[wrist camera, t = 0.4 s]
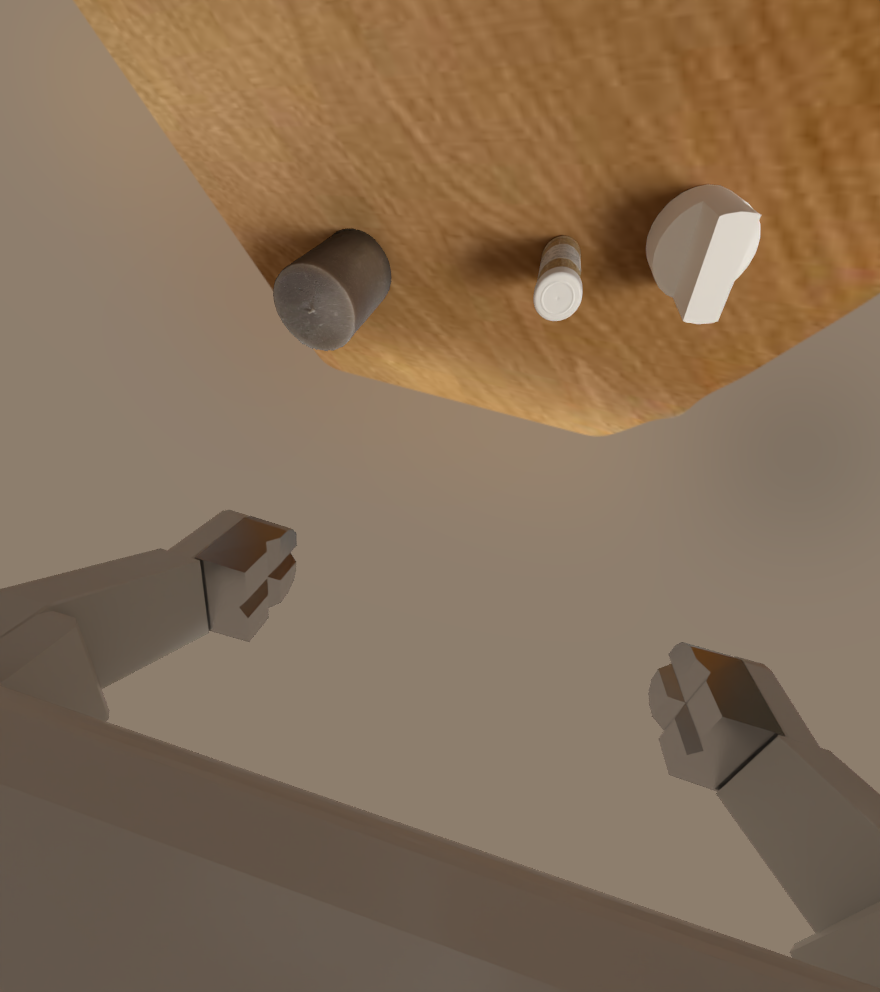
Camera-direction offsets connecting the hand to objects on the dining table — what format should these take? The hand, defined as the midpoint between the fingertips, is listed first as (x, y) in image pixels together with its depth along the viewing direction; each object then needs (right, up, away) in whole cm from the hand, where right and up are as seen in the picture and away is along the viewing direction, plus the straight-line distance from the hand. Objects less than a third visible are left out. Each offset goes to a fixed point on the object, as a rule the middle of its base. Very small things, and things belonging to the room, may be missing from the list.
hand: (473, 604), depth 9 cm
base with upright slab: (+27, +31, +35) cm, 54 cm away
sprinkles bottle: (+14, +31, +39) cm, 52 cm away
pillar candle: (-12, +33, +46) cm, 58 cm away
